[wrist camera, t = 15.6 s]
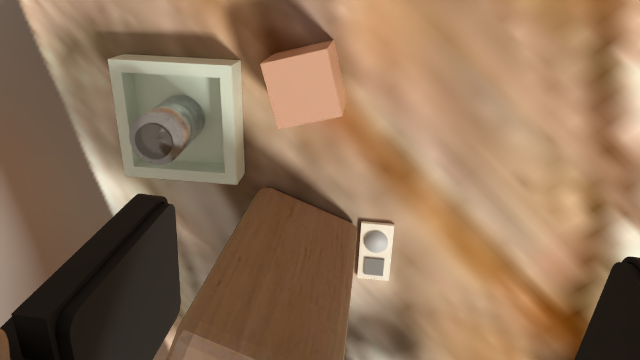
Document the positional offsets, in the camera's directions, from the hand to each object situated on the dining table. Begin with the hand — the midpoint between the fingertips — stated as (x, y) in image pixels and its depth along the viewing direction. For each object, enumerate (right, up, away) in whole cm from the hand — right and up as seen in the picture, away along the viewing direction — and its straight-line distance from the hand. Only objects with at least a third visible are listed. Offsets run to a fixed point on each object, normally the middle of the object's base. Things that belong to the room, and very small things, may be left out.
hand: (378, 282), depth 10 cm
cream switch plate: (+4, -4, +35) cm, 36 cm away
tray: (-13, +8, +32) cm, 35 cm away
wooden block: (-4, -4, +36) cm, 36 cm away
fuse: (-13, +8, +31) cm, 35 cm away
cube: (-2, +11, +29) cm, 31 cm away
